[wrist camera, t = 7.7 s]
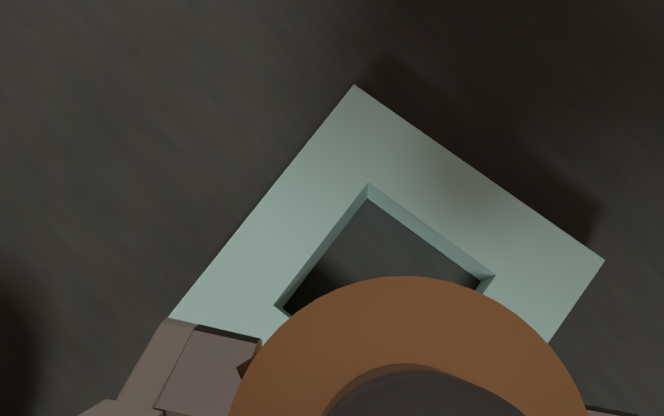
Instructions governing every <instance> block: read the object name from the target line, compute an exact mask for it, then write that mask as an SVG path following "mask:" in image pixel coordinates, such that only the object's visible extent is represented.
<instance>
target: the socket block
mask: <svg viewBox="0 0 664 416" xmlns="http://www.w3.org/2000/svg"><path fill="white" fill-rule="evenodd" d="M367 198H368V199H369V200H371V201H372V202H373V203H375V204H376V205H377V206H379V207H380V208H382V209H383V210H384V211H386V212H387V213H388V214H390V215H391V216H392V217H394V218H395V219H397V220H398V221H399V222H401V223H402V224H403V225H405V226H406V227H407V228H409V229H410V230H412V231H413V232H414V233H416V234H417V235H418V236H420V237H421V238H422V239H424V240H425V241H427V242H428V243H429V244H431V245H432V246H433V247H435V248H436V249H437V250H439V251H440V252H442V253H443V254H444V255H446V256H447V257H448V258H450V259H451V260H452V261H454V262H455V263H457V264H458V265H459V266H461V267H462V268H463V269H465V270H466V271H467V272H469V273H470V274H472V275H473V276H474V277H476V278H477V279H478V280H480V281H481V282H480V284H479V285H478V286H477V288H476V289H475V291H477V292H479V293H481V294H483V295H485V296H487V297H489V298H491V299H493V300H495V301H497V302H499V303H500V304H502V305H503V306H505V307H506V308H508V309H509V310H511V311H512V312H514V313H515V314H517V315H518V316H519V317H520V318H521V319H523V320H524V321H525V322H526V323H527V324H528V325H530V326H531V327H532V328H533V329H534V330H535V331H536V332H537V333H538V334H539V335H540V336H541V337H542V338H543V339H544V340H545V342H546V343H547V344H548V342H549V341H550V339H551V338H552V337H553V335H554V334H555V332H556V331H557V329H558V328H559V326H560V325H561V324H562V322H563V321H564V319H565V318H566V316H567V315H568V313H569V312H570V310H571V309H572V308H573V306H574V305H575V303H576V302H577V300H578V299H579V297H580V296H581V295H582V293H583V292H584V290H585V289H586V287H587V286H588V284H589V283H590V282H591V280H592V279H593V277H594V276H595V274H596V273H597V271H598V270H599V269H600V267H601V266H602V264H603V263H604V261H605V260H604V259H602V258H601V257H600V256H598V255H597V254H595V253H594V252H592V251H591V250H590V249H588V248H587V247H585V246H584V245H582V244H581V243H580V242H578V241H577V240H575V239H574V238H573V237H571V236H570V235H568V234H567V233H565V232H564V231H563V230H561V229H560V228H558V227H557V226H555V225H554V224H553V223H551V222H550V221H548V220H547V219H545V218H544V217H543V216H541V215H540V214H538V213H537V212H535V211H534V210H533V209H531V208H530V207H528V206H527V205H525V204H524V203H523V202H521V201H520V200H518V199H517V198H515V197H514V196H513V195H511V194H510V193H508V192H507V191H505V190H504V189H503V188H501V187H500V186H498V185H497V184H495V183H494V182H493V181H491V180H490V179H488V178H487V177H485V176H484V175H483V174H481V173H480V172H478V171H477V170H475V169H474V168H473V167H471V166H470V165H468V164H467V163H465V162H464V161H463V160H461V159H460V158H458V157H457V156H455V155H454V154H453V153H451V152H450V151H448V150H447V149H445V148H444V147H443V146H441V145H440V144H438V143H437V142H435V141H434V140H433V139H431V138H430V137H428V136H427V135H425V134H424V133H423V132H421V131H420V130H418V129H417V128H416V127H414V126H413V125H411V124H410V123H408V122H407V121H406V120H404V119H403V118H401V117H400V116H398V115H397V114H396V113H394V112H393V111H391V110H390V109H388V108H387V107H386V106H384V105H383V104H381V103H380V102H378V101H377V100H376V99H374V98H373V97H371V96H370V95H368V94H367V93H366V92H364V91H363V90H361V89H360V88H358V87H357V86H356V85H353V86H352V87H351V89H350V90H349V91H348V92H347V94H346V95H345V96H344V97H343V99H342V100H341V101H340V102H339V104H338V105H337V106H336V107H335V109H334V110H333V111H332V112H331V114H330V115H329V116H328V117H327V119H326V120H325V121H324V122H323V124H322V125H321V126H320V127H319V129H318V130H317V131H316V132H315V134H314V135H313V136H312V137H311V139H310V140H309V141H308V142H307V144H306V145H305V146H304V147H303V149H302V150H301V151H300V152H299V154H298V155H297V156H296V157H295V159H294V160H293V161H292V162H291V164H290V165H289V166H288V167H287V169H286V170H285V171H284V172H283V174H282V175H281V176H280V177H279V179H278V180H277V181H276V182H275V184H274V185H273V186H272V187H271V189H270V190H269V191H268V192H267V194H266V195H265V196H264V197H263V199H262V200H261V201H260V202H259V204H258V205H257V206H256V207H255V209H254V210H253V211H252V212H251V214H250V215H249V216H248V217H247V219H246V220H245V221H244V222H243V224H242V225H241V226H240V227H239V229H238V230H237V231H236V232H235V234H234V235H233V236H232V238H231V239H230V240H229V241H228V243H227V244H226V245H225V246H224V248H223V249H222V250H221V251H220V253H219V254H218V255H217V256H216V258H215V259H214V260H213V261H212V263H211V264H210V265H209V266H208V268H207V269H206V270H205V271H204V273H203V274H202V275H201V276H200V278H199V279H198V280H197V281H196V283H195V284H194V285H193V286H192V288H191V289H190V290H189V291H188V293H187V294H186V295H185V296H184V298H183V299H182V300H181V301H180V303H179V304H178V305H177V306H176V308H175V309H174V310H173V311H172V313H171V314H170V315H169V316H168V318H172V319H177V320H181V321H185V322H190V323H194V324H201V325H205V326H209V327H214V328H218V329H222V330H226V331H231V332H235V333H239V334H244V335H248V336H252V337H257V338H260V339H261V340H262V346H263V345H264V344H265V342H266V341H267V340H268V339H269V338H270V337H271V336H272V335H273V334H274V332H275V331H276V330H277V329H278V328H279V327H280V326H281V325H282V324H283V323H285V322H286V321H287V320H288V319H289V318H290V317H292V316H291V315H290V314H289V313H288V312H286V311H285V310H284V309H283V307H284V305H285V304H286V303H287V301H288V300H289V299H290V298H291V296H292V295H293V294H294V292H295V291H296V290H297V288H298V287H299V286H300V285H301V283H302V282H303V281H304V279H305V278H306V277H307V275H308V274H309V273H310V272H311V270H312V269H313V268H314V266H315V265H316V264H317V262H318V261H319V260H320V259H321V257H322V256H323V255H324V253H325V252H326V251H327V249H328V248H329V247H330V246H331V244H332V243H333V242H334V240H335V239H336V238H337V237H338V235H339V234H340V233H341V231H342V230H343V229H344V227H345V226H346V225H347V224H348V222H349V221H350V220H351V218H352V217H353V216H354V214H355V213H356V212H357V211H358V209H359V208H360V207H361V205H362V204H363V203H364V201H365V200H366V199H367Z"/></svg>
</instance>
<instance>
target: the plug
mask: <svg viewBox="0 0 664 416" xmlns="http://www.w3.org/2000/svg"><path fill="white" fill-rule="evenodd" d="M228 416H588V413H587V410H586V408H585V405H584V403H583V400H582V398H581V395H580V393H579V391H578V389H577V387H576V385H575V383H574V382H573V380H572V378H571V376H570V374H569V372H568V371H567V369H566V368H565V366H564V365H563V363H562V362H561V361H560V359H559V358H558V356H557V355H556V354H555V352H554V351H553V349H552V348H551V347H550V346H549V345H548V344H547V343H546V342H545V340H544V339H543V338H542V337H541V336H540V335H539V334H538V333H537V332H536V331H535V330H534V329H533V328H532V327H531V326H530V325H528V324H527V323H526V322H525V321H524V320H523V319H521V318H520V317H519V316H518V315H517V314H515V313H514V312H512V311H511V310H509V309H508V308H506V307H505V306H503V305H502V304H500V303H499V302H497V301H495V300H493V299H491V298H489V297H487V296H485V295H483V294H481V293H479V292H477V291H475V290H473V289H470V288H467V287H464V286H461V285H458V284H455V283H452V282H448V281H443V280H438V279H433V278H428V277H414V276H394V277H381V278H375V279H370V280H365V281H360V282H356V283H353V284H350V285H347V286H344V287H341V288H338V289H336V290H334V291H332V292H330V293H328V294H326V295H324V296H322V297H320V298H317V299H316V300H314V301H313V302H311V303H310V304H308V305H307V306H305V307H304V308H302V309H301V310H299V311H297V312H296V313H295V314H294V315H293V316H292V317H290V318H289V319H288V320H287V321H286V322H285V323H283V324H282V325H281V326H280V327H279V328H278V329H277V330H276V331H275V332H274V334H273V335H272V336H271V337H270V338H269V339H268V340H267V341H266V342H265V344H264V345H263V346H262V347H261V349H260V350H259V352H258V353H257V355H256V356H255V358H254V359H253V361H252V362H251V363H250V365H249V367H248V369H247V371H246V373H245V375H244V376H243V378H242V380H241V382H240V384H239V386H238V389H237V391H236V394H235V397H234V399H233V402H232V405H231V408H230V410H229V415H228Z"/></svg>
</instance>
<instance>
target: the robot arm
mask: <svg viewBox="0 0 664 416" xmlns="http://www.w3.org/2000/svg"><path fill="white" fill-rule="evenodd" d="M261 347H262V340H261V339H260V338H257V337H252V336H248V335H244V334H239V333H235V332H231V331H226V330H222V329H218V328H214V327H209V326H205V325H201V324H194V323H190V322H185V321H181V320H177V319H172V318H168V317H167V318H166V319H165V320H164V321H163V322H162V323H161V324H159V326H158V328H157V330H156V331H155V333H154V335H153V337H152V338H151V340H150V342H149V344H148V345H147V347H146V349H145V350H144V352H143V354H142V356H141V357H140V359H139V361H138V363H137V364H136V366H135V368H134V370H133V371H132V373H131V375H130V376H129V378H128V380H127V382H126V383H125V385H124V387H123V389H122V390H121V392H120V394H119V396H118V397H117V399H116V401H115V400H109V399H105V400H103V401H101V402H100V403H98V404H96V405H95V406H93V407H91V408H90V409H88V410H86V411H85V412H83V413H81V414H80V415H78V416H228V415H229V410H230V408H231V405H232V402H233V399H234V397H235V394H236V391H237V389H238V386H239V384H240V382H241V380H242V378H243V376H244V375H245V373H246V371H247V369H248V367H249V365H250V363H251V362H252V361H253V359H254V358H255V356H256V355H257V353H258V352H259V350H260V349H261ZM584 405H585V408H586V410H587V413H588V416H639V415H637V414H632V413H627V412H622V411H617V410H612V409H607V408H601V407H596V406H591V405H586V404H584Z"/></svg>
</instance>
